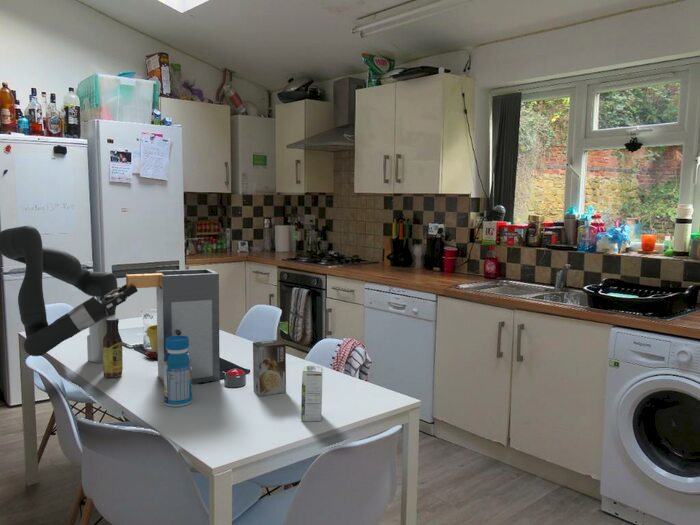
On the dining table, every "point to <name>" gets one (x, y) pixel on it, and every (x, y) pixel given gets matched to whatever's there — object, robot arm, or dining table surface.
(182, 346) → the beverage bottle
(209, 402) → the dining table surface
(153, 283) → the wooden handled hammer
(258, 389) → the coffee box
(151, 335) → the plant pot
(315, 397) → the drink carton
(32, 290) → the robot arm
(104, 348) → the sauce bottle
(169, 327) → the small grey cabinet
